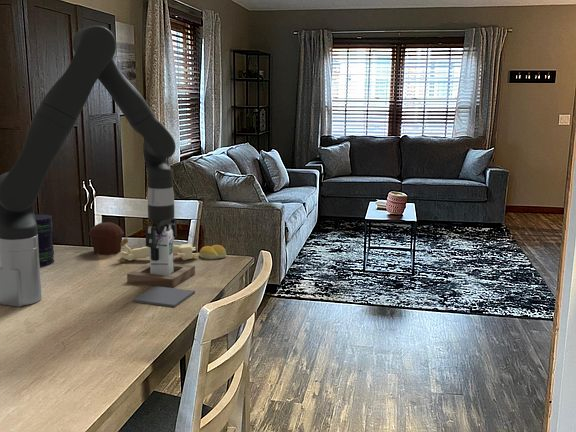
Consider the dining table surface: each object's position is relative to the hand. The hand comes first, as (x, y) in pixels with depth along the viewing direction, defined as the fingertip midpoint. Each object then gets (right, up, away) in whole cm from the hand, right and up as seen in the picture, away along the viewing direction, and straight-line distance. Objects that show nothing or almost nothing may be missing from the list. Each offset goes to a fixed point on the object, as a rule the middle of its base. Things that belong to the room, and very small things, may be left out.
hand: (162, 256), depth 170 cm
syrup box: (0, -7, +1) cm, 7 cm away
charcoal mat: (+4, -10, -15) cm, 19 cm away
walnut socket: (0, -6, +1) cm, 7 cm away
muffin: (-25, -1, +29) cm, 38 cm away
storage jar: (-42, -3, +13) cm, 45 cm away
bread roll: (+12, -2, +27) cm, 29 cm away
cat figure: (-5, -3, +21) cm, 22 cm away
